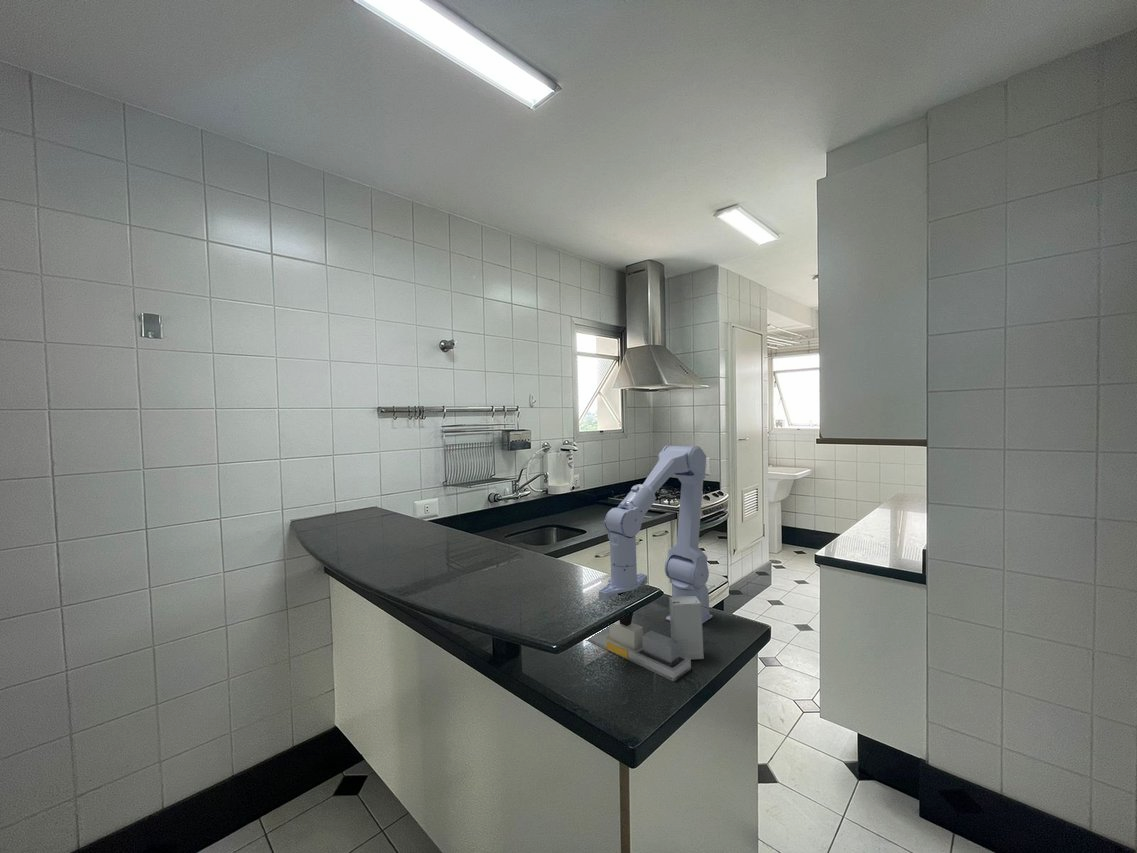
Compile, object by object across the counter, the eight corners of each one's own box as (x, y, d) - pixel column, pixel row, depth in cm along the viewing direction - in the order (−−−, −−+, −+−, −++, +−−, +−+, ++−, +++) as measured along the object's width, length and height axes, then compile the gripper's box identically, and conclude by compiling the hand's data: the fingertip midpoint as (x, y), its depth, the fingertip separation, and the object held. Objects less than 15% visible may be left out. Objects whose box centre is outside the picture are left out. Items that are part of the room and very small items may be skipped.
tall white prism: (618, 638, 100) (618, 617, 100) (643, 649, 95) (642, 626, 95) (610, 643, 98) (609, 621, 98) (634, 655, 93) (634, 631, 93)
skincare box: (698, 649, 96) (696, 594, 96) (704, 660, 91) (702, 603, 91) (670, 650, 96) (668, 595, 96) (675, 661, 91) (673, 603, 91)
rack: (589, 624, 109) (588, 602, 109) (690, 669, 88) (690, 641, 88) (571, 633, 105) (570, 610, 105) (673, 682, 84) (672, 653, 84)
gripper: (629, 552, 104) (631, 608, 105) (587, 566, 95) (589, 629, 95) (654, 557, 99) (656, 617, 99) (612, 574, 89) (614, 640, 89)
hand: (625, 623), depth 97 cm, fingers closed
